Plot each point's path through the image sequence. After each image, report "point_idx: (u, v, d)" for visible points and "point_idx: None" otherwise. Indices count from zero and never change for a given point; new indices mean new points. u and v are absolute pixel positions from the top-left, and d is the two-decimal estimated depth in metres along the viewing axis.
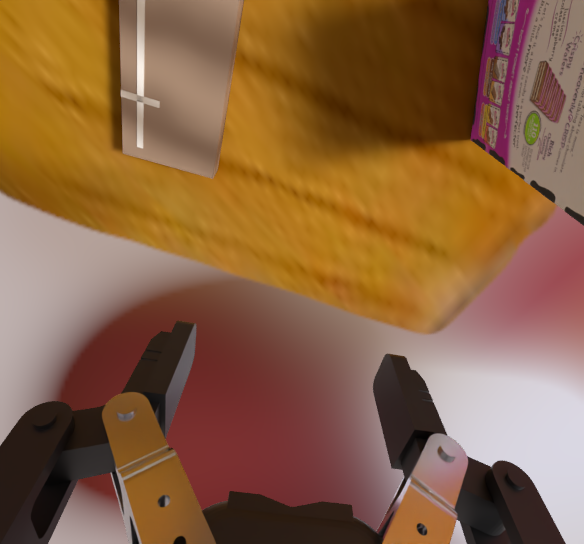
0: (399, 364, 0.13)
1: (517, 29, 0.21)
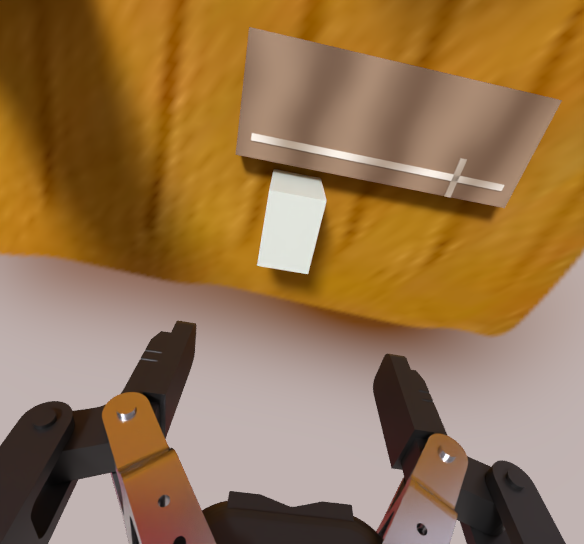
0: (399, 364, 0.13)
1: None
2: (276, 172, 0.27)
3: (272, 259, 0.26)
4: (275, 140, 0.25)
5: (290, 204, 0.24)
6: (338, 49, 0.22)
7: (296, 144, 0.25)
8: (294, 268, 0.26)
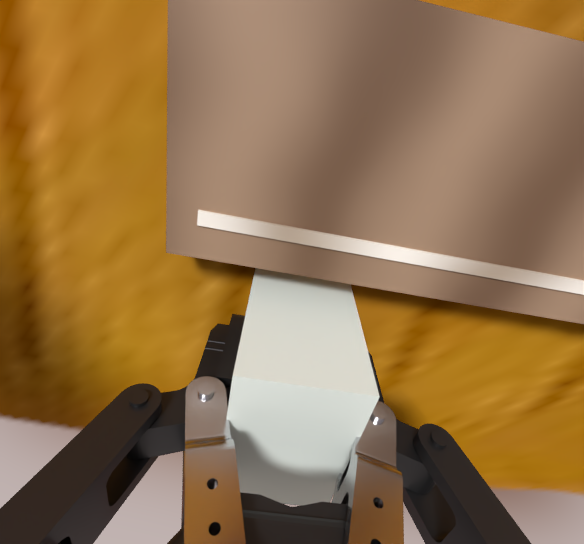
0: None
1: None
2: (260, 278, 0.13)
3: (248, 488, 0.12)
4: (253, 225, 0.11)
5: (288, 403, 0.09)
6: (419, 4, 0.08)
7: (302, 234, 0.11)
8: (297, 500, 0.12)
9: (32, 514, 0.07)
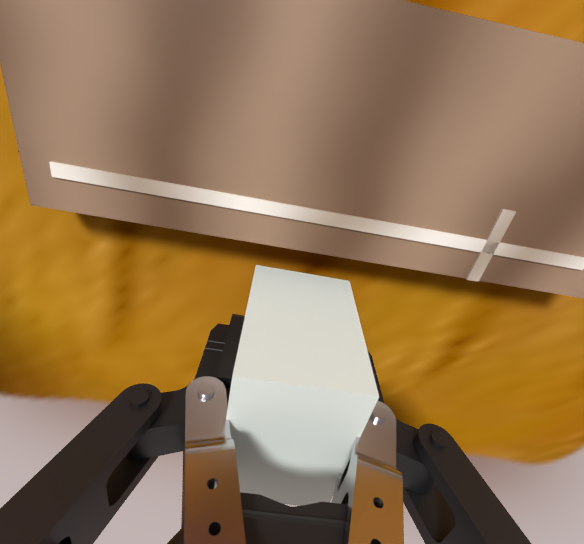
0: None
1: None
2: (260, 279, 0.13)
3: (248, 488, 0.12)
4: (105, 176, 0.12)
5: (288, 403, 0.09)
6: None
7: (152, 185, 0.12)
8: (297, 500, 0.12)
9: (32, 514, 0.07)
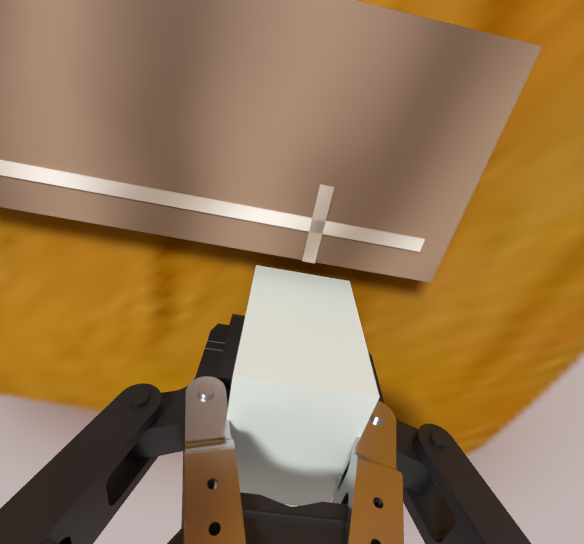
0: None
1: None
2: (260, 279, 0.13)
3: (248, 488, 0.12)
4: None
5: (288, 403, 0.09)
6: None
7: None
8: (297, 500, 0.12)
9: (32, 514, 0.07)
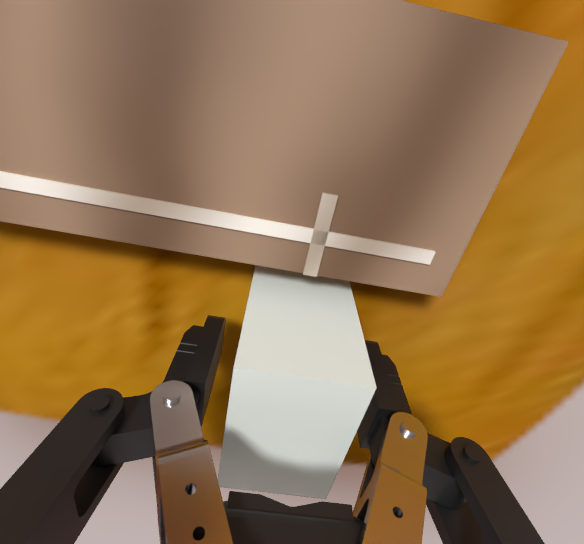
0: (370, 349, 0.14)
1: None
2: (260, 274, 0.13)
3: (249, 478, 0.12)
4: None
5: (287, 394, 0.10)
6: None
7: None
8: (297, 491, 0.12)
9: None
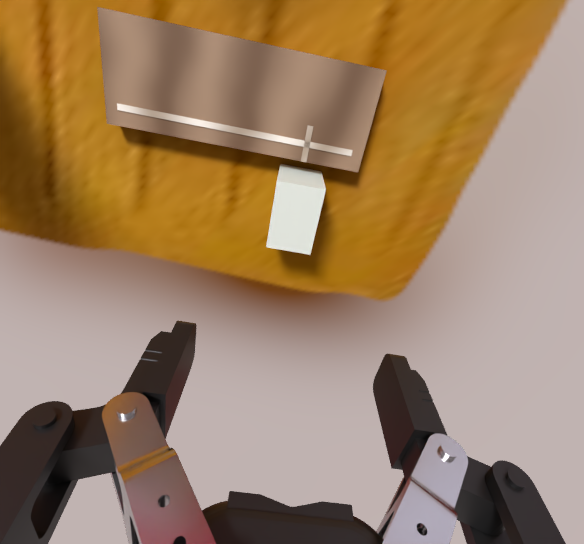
0: (399, 364, 0.13)
1: None
2: (282, 166, 0.31)
3: (279, 241, 0.30)
4: (139, 110, 0.28)
5: (295, 193, 0.28)
6: (178, 26, 0.25)
7: (159, 114, 0.28)
8: (298, 249, 0.30)
9: None
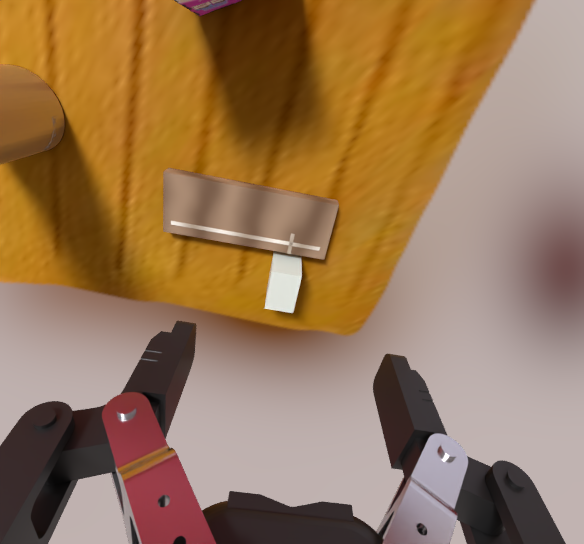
0: (399, 364, 0.13)
1: None
2: (275, 254, 0.48)
3: (273, 305, 0.46)
4: (184, 224, 0.45)
5: (282, 278, 0.44)
6: (212, 181, 0.42)
7: (197, 226, 0.45)
8: (285, 310, 0.47)
9: None
